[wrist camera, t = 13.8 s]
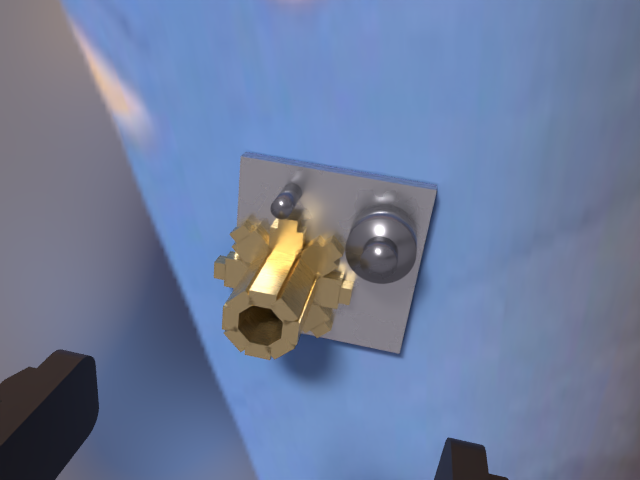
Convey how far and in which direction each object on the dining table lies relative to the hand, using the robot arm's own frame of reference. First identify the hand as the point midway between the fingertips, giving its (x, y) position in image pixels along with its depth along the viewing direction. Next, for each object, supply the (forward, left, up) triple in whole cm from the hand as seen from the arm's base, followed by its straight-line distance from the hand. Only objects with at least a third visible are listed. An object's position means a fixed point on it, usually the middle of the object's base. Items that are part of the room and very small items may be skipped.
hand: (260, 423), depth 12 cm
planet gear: (+5, +12, -27) cm, 30 cm away
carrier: (+2, +10, -28) cm, 30 cm away
